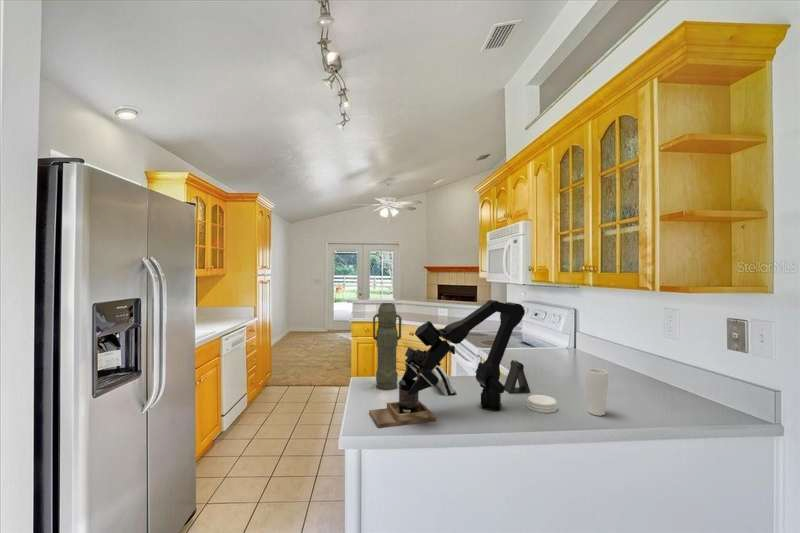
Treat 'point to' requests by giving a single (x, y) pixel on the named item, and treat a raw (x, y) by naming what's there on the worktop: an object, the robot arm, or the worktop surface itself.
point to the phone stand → (513, 375)
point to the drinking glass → (597, 390)
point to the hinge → (443, 381)
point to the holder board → (400, 415)
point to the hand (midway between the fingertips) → (404, 389)
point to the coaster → (542, 403)
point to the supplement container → (407, 397)
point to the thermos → (386, 346)
